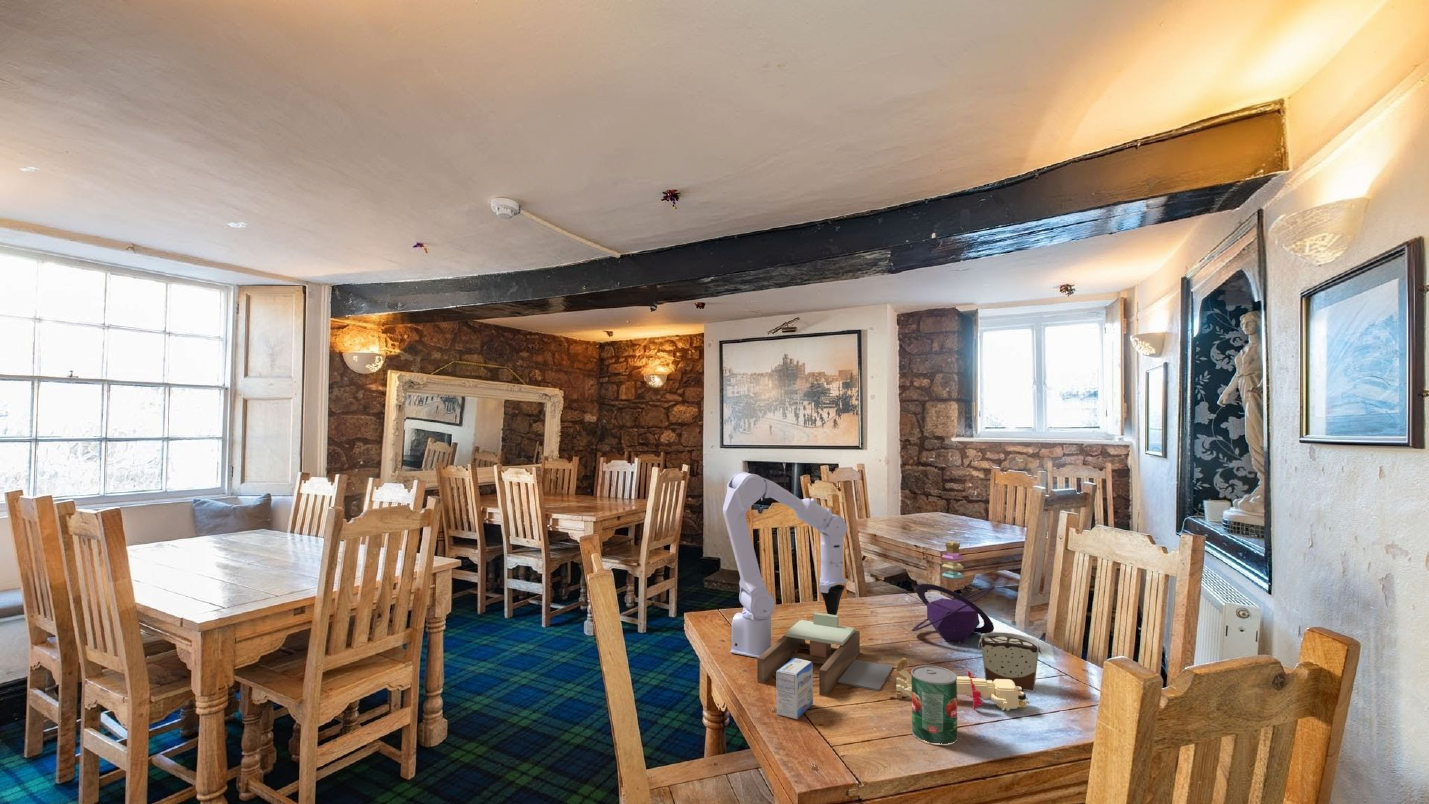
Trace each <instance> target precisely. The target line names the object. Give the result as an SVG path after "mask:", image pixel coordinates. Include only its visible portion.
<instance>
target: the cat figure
mask: <svg viewBox="0 0 1429 804" xmlns="http://www.w3.org/2000/svg"><path fill="white" fill-rule="evenodd" d="M908 666H909V661H908V659H907V658H906V657H901V659H899V660H898V661H897V663H896V665H895V668H896V672H897V673H899V675H901V677H904V678H905V679H906V680H905V679H903V678H901V677H896V678H895V680H896V685H895V686H896V699H898V700H903V695H907V696H908V697H909V698H912V682H911V681H912V674H910V673H909V672H908V670H907V669H905V668H907V667H908ZM956 676H957V675H956ZM902 694H903V695H902ZM957 695H962V696H963V695H965V696H966V697H970V698H972V703H973V711H976V709H978V707H979V706H983V700H982V698H983V699H990V700H992V701H994V703H996V706H997V707H998V708H999V709H1001V711H1004V710H1006V711H1010V710H1011V709H1013V710H1016V709H1018V708H1027V704H1031V703H1030V701H1029V700H1028V699H1029V698H1028V697H1027V695H1026V693H1025V690H1023V688H1021V687H1019V686H1015V683H1014V682H1013V681H1012V680H1010V679H996V680H994V681H993V682H992V680H985V678H981V677H979V678H977V676H973V675H972V672H971V671H970V670H967V676H961V675H960V676H957ZM981 697H982V698H981ZM1027 700H1028V701H1027Z"/></svg>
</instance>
